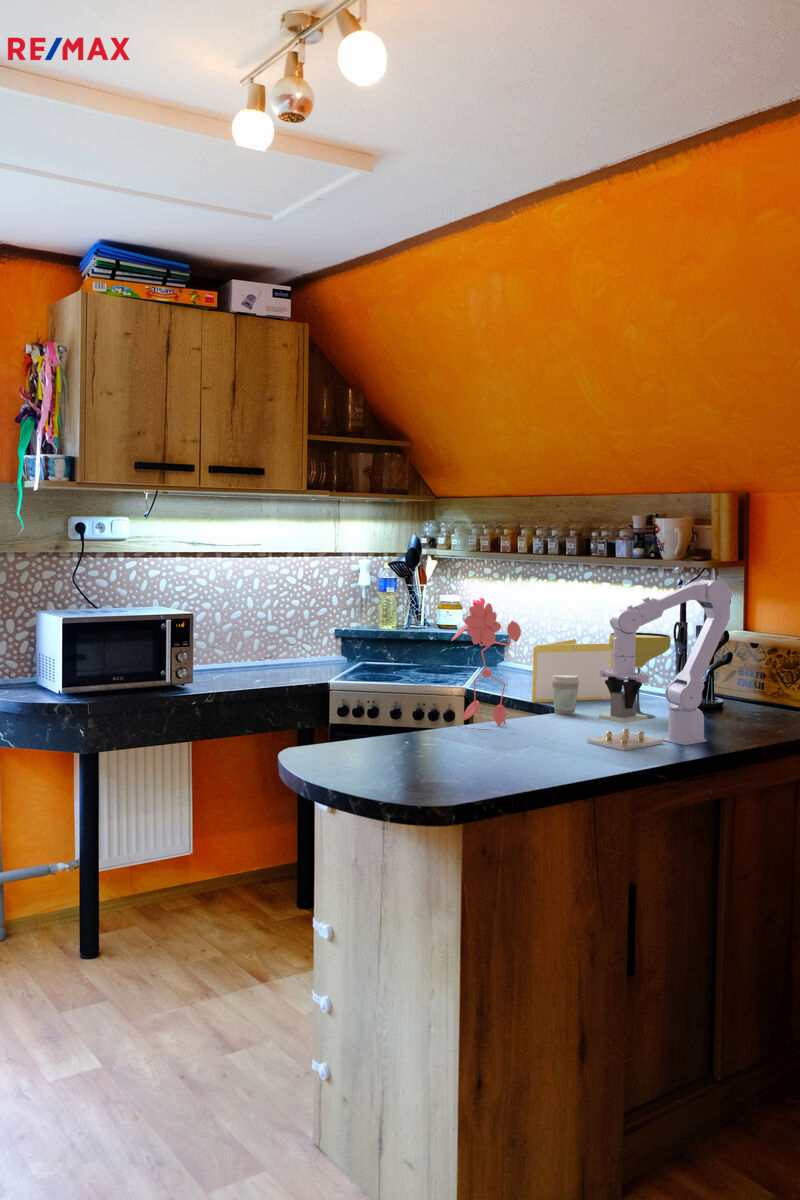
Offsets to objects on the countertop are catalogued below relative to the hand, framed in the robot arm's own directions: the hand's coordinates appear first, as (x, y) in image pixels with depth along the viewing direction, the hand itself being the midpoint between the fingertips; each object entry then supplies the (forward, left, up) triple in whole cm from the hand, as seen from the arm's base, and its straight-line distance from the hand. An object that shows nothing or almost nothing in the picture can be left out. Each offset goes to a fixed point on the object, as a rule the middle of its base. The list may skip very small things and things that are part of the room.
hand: (622, 707), depth 262 cm
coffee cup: (-20, -38, -10) cm, 44 cm away
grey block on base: (0, 0, -3) cm, 3 cm away
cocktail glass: (-36, -23, -10) cm, 44 cm away
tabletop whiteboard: (-45, -55, -10) cm, 72 cm away
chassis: (0, +1, -9) cm, 9 cm away
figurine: (+15, -40, -10) cm, 44 cm away
